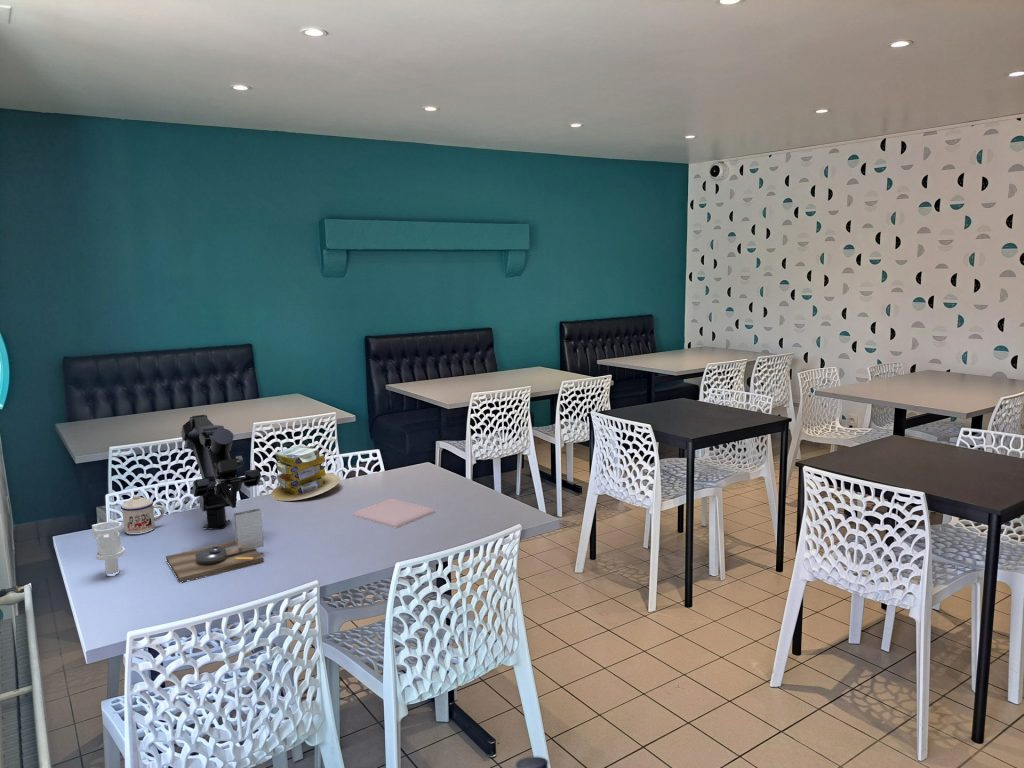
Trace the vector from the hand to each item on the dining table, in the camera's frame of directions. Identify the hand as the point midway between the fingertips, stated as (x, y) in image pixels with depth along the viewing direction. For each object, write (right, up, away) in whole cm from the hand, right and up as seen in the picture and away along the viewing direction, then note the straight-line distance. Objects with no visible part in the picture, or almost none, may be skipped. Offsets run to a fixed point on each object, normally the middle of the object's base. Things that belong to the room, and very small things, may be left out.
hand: (234, 507), depth 215 cm
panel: (+35, -9, +25) cm, 44 cm away
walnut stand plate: (-3, -14, -7) cm, 16 cm away
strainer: (-28, -16, -14) cm, 35 cm away
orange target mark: (+6, -13, -9) cm, 17 cm away
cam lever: (+1, -12, -7) cm, 14 cm away
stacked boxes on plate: (+5, -4, +56) cm, 56 cm away
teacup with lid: (-36, -11, +19) cm, 42 cm away
